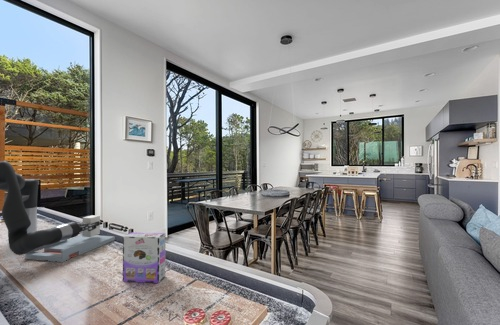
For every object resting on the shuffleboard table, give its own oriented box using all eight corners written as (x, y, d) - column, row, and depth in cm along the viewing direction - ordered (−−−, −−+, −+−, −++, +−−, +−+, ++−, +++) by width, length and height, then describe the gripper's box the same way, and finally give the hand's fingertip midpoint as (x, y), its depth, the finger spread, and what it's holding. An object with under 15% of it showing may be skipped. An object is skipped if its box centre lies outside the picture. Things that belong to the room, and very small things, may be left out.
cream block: (90, 237, 123) (90, 218, 123) (82, 236, 124) (82, 217, 124) (99, 233, 129) (100, 215, 129) (91, 233, 130) (92, 215, 130)
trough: (62, 262, 100) (62, 250, 100) (25, 258, 104) (25, 247, 104) (114, 240, 130) (114, 231, 130) (84, 237, 133) (84, 229, 133)
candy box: (165, 276, 89) (166, 232, 89) (158, 284, 83) (158, 237, 83) (131, 274, 90) (132, 231, 90) (121, 281, 84) (122, 235, 84)
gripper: (78, 224, 111) (106, 216, 128) (52, 223, 113) (83, 215, 130) (78, 240, 111) (106, 230, 127) (52, 238, 113) (83, 229, 130)
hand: (94, 223), depth 129 cm, fingers closed on cream block, 5 cm apart
